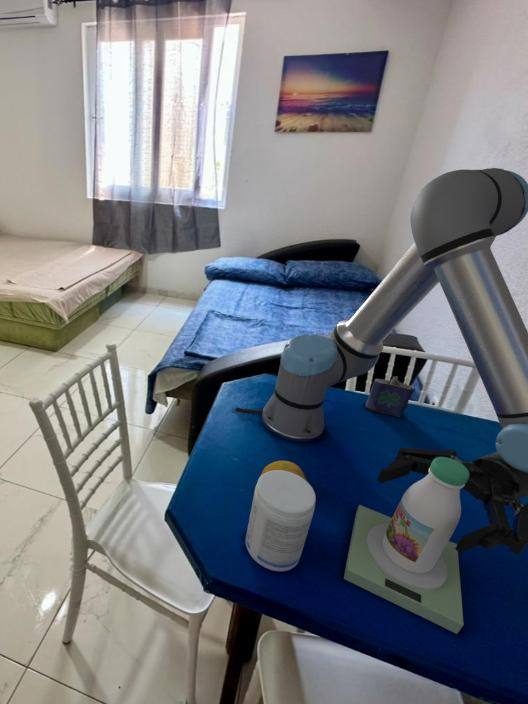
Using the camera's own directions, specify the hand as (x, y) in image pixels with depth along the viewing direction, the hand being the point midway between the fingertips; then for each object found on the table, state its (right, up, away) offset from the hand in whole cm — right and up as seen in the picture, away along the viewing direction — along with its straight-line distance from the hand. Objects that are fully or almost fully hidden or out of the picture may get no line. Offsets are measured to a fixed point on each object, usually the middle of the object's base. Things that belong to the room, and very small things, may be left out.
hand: (417, 507), depth 62 cm
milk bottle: (+3, -11, +7) cm, 13 cm away
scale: (+3, -13, +9) cm, 16 cm away
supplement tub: (-19, -12, +11) cm, 25 cm away
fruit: (-14, -6, +22) cm, 26 cm away
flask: (+24, +8, +49) cm, 55 cm away
